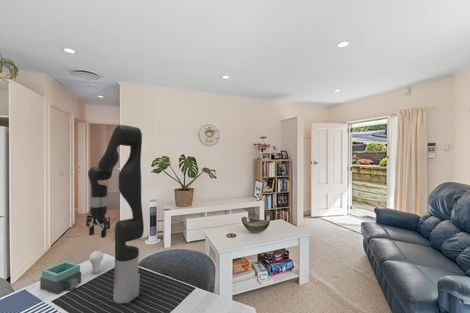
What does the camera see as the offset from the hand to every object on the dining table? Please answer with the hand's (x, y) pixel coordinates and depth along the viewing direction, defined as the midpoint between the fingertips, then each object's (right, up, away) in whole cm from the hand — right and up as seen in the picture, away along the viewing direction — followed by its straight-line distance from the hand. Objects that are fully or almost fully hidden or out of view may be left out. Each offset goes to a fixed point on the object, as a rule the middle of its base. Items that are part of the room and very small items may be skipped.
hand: (97, 236), depth 112 cm
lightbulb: (-1, -19, 0) cm, 19 cm away
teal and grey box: (-8, -18, -13) cm, 24 cm away
